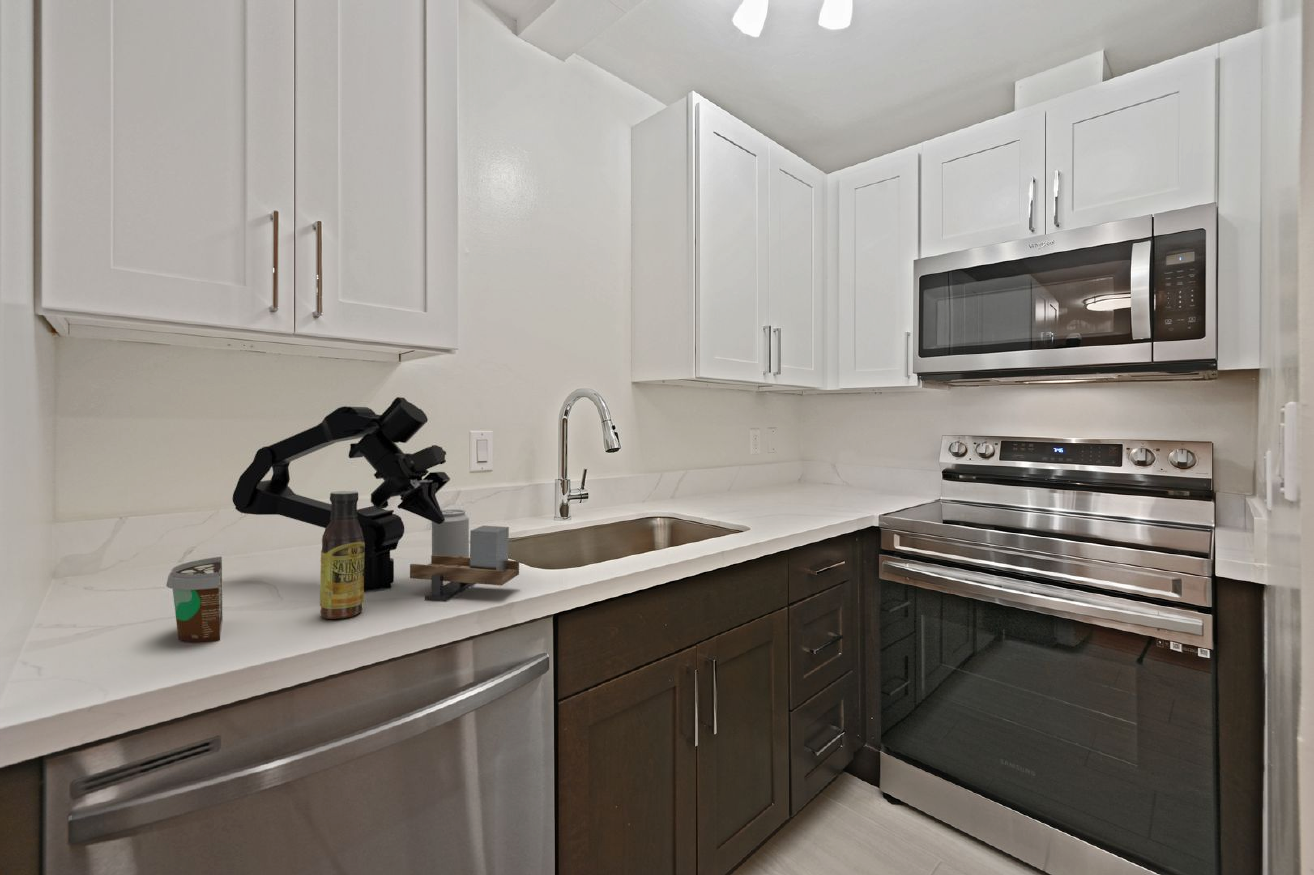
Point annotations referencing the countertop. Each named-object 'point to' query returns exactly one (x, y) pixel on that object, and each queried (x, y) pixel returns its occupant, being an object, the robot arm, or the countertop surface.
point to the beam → (462, 571)
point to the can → (451, 534)
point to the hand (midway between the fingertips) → (442, 522)
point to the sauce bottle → (342, 559)
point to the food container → (198, 599)
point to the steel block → (489, 548)
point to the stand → (445, 589)
